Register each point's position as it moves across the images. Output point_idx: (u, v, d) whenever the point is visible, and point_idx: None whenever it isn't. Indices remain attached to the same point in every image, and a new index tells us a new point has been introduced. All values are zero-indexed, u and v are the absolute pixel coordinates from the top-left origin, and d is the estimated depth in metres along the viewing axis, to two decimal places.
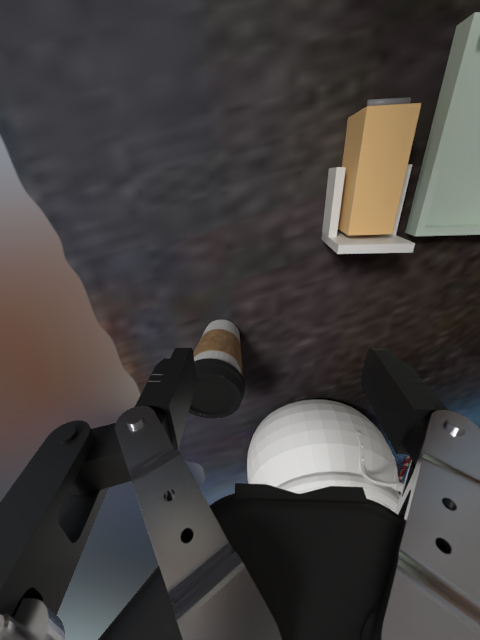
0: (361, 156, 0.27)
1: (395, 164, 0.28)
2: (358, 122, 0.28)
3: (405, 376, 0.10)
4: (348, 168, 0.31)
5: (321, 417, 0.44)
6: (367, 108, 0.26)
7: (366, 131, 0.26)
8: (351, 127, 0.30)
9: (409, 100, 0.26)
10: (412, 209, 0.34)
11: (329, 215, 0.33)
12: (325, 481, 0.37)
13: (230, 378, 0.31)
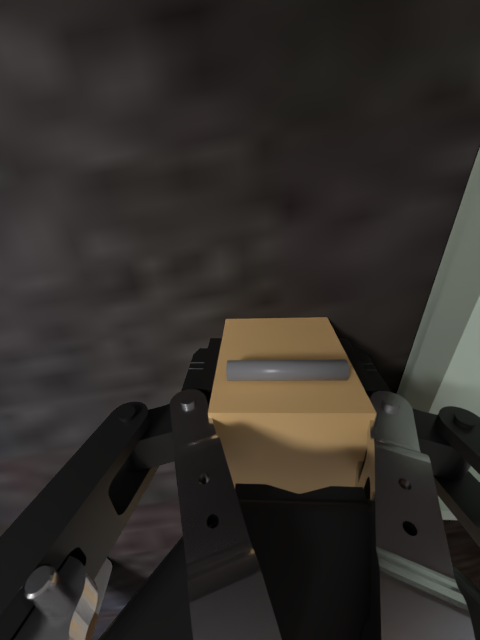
0: None
1: None
2: None
3: (357, 362, 0.11)
4: None
5: None
6: (210, 416, 0.08)
7: None
8: None
9: (344, 375, 0.09)
10: None
11: None
12: None
13: None
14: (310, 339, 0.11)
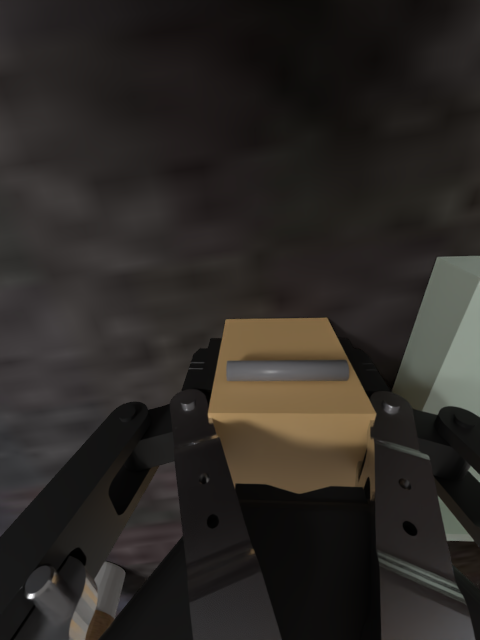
0: None
1: None
2: None
3: (357, 362, 0.11)
4: None
5: None
6: (210, 417, 0.08)
7: None
8: None
9: (344, 376, 0.09)
10: None
11: None
12: None
13: None
14: (310, 339, 0.11)
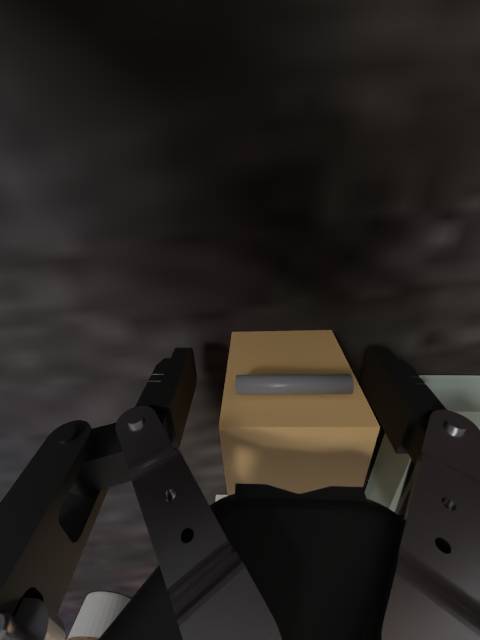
0: None
1: None
2: None
3: (405, 376, 0.10)
4: None
5: None
6: (221, 430, 0.09)
7: (233, 465, 0.09)
8: None
9: (349, 389, 0.09)
10: None
11: None
12: None
13: None
14: (315, 351, 0.12)
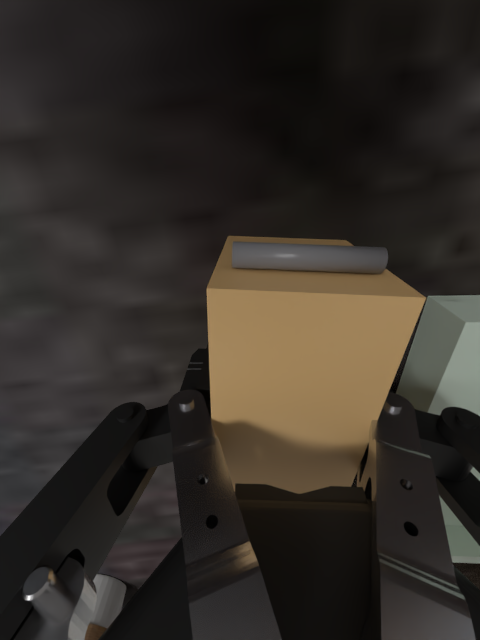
0: (216, 414, 0.08)
1: (328, 440, 0.08)
2: None
3: None
4: None
5: None
6: (209, 295, 0.06)
7: (221, 358, 0.07)
8: None
9: (381, 262, 0.07)
10: None
11: None
12: None
13: None
14: None
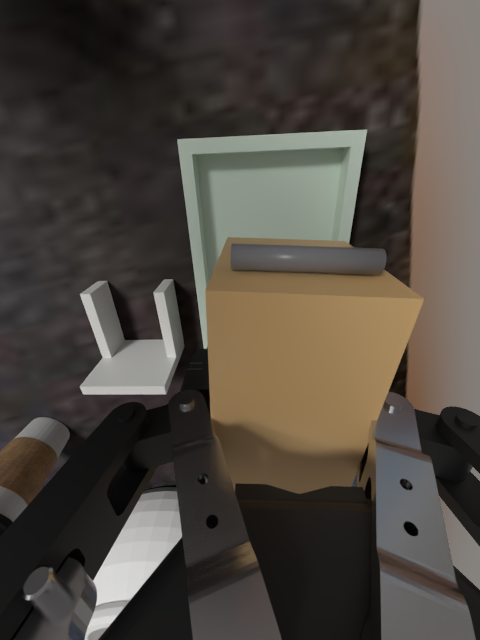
0: (216, 415, 0.08)
1: (327, 441, 0.09)
2: None
3: None
4: None
5: (155, 523, 0.40)
6: (208, 297, 0.06)
7: (220, 360, 0.07)
8: None
9: (380, 264, 0.07)
10: None
11: None
12: None
13: None
14: None
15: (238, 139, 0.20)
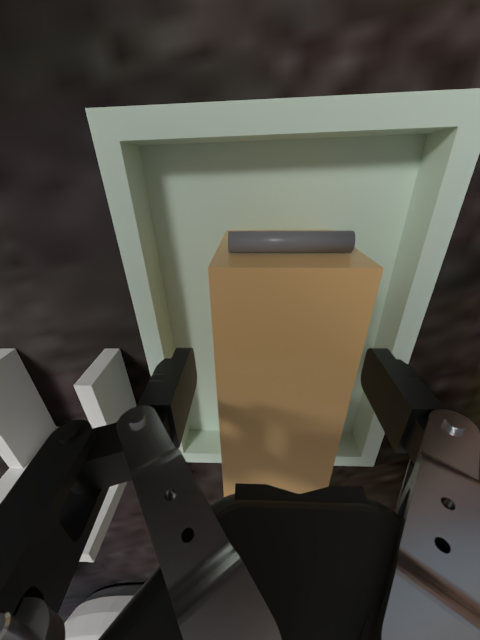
0: (220, 377, 0.10)
1: (316, 397, 0.10)
2: None
3: (404, 376, 0.10)
4: None
5: None
6: (210, 273, 0.08)
7: (222, 327, 0.09)
8: None
9: (350, 242, 0.08)
10: None
11: None
12: None
13: None
14: None
15: (216, 109, 0.09)
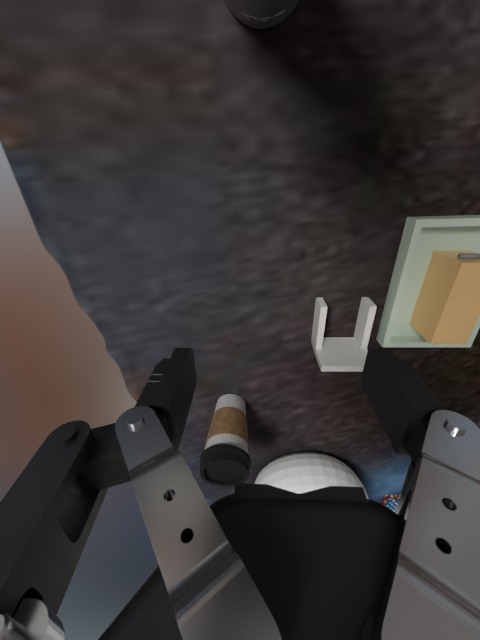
0: (451, 293, 0.35)
1: (477, 300, 0.35)
2: (450, 266, 0.35)
3: (405, 376, 0.10)
4: (433, 291, 0.38)
5: (311, 473, 0.54)
6: (462, 264, 0.33)
7: (458, 278, 0.34)
8: (439, 262, 0.37)
9: None
10: (380, 325, 0.45)
11: (316, 333, 0.43)
12: None
13: (240, 461, 0.42)
14: None
15: (453, 220, 0.34)
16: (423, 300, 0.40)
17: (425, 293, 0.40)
